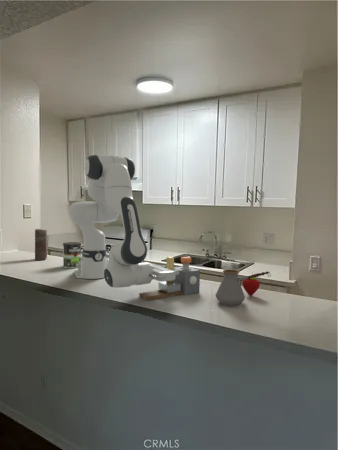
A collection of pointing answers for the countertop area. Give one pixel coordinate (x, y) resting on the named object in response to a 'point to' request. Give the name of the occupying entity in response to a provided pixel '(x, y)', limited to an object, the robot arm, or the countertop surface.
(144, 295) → the rail
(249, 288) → the strawberry
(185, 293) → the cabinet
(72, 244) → the coffee can
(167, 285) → the carriage
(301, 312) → the countertop surface
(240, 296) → the coffee pot
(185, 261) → the button
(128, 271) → the robot arm
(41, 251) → the candle
